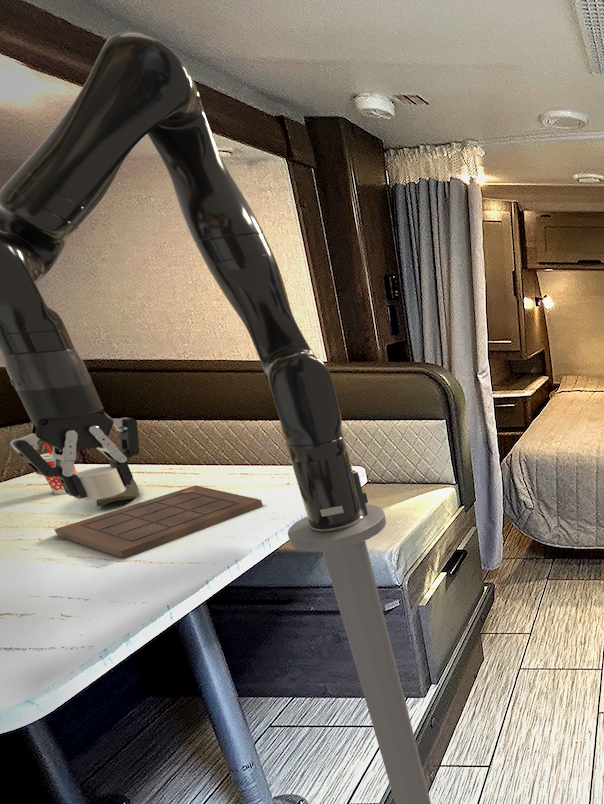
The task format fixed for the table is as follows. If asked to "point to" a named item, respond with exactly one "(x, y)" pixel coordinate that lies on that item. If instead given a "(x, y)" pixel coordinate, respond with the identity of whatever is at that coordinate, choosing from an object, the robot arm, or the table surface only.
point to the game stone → (101, 482)
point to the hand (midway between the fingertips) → (103, 490)
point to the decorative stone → (121, 494)
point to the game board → (157, 520)
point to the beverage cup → (53, 480)
